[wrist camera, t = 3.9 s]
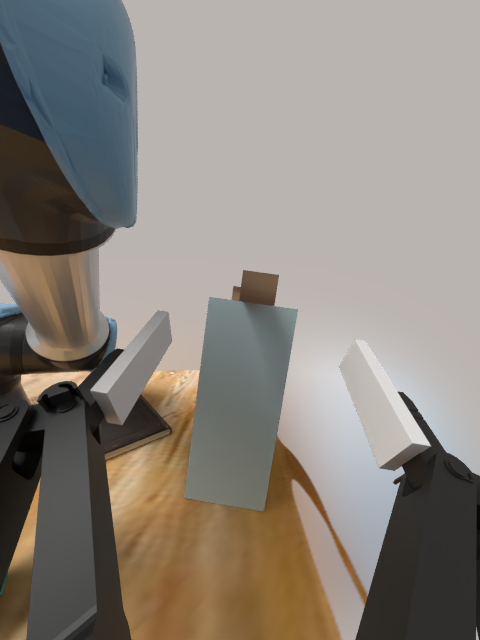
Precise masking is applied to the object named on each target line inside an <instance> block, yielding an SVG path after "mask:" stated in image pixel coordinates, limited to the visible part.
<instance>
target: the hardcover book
mask: <svg viewBox="0 0 480 640" xmlns="http://www.w3.org/2000/svg"><path fill="white" fill-rule="evenodd" d="M100 425H101V428H102V437H103V445H104V453H105V460H108V459H110V458H113V457H115V456H117V455H120V454H122V453H125V452H127V451H129V450H132V449H134V448H137V447H139V446H142V445H144V444H146V443H149V442H151V441H154V440H156V439H159V438H161V437H163V436H166V435H168V434H171V427H170V426H169V425H168V424H167V423H166V422H165V421H164V420H163V418H162V417H161V416H160V415H159V414H158V413H157V412H156V411H155V410H154V409H153V407H152V406H151V405H150V404H149V403H148V402H147V401H146V400H145V399H144V398H143V396H142V395H141V394H140V396H139V398H138V399H137V401H136V403H135V404H134V406H133V408H132V409H131V411H130V413H129V415H128V416H127V418H126V420H125V421H124V423H123V425H119V424H113V423H108V422H107V420H106V418H105V417H104V419H103V420H102V421H101V423H100Z"/></svg>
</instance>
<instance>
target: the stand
mask: <svg viewBox="0 0 480 640" xmlns="http://www.w3.org/2000/svg"><path fill="white" fill-rule="evenodd" d="M207 312H208V313H207V319H206V328H205V335H204V343H203V351H202V359H201V367H200V374H199V382H198V390H197V398H196V406H195V414H194V422H193V429H192V437H191V445H190V453H189V461H188V469H187V477H186V485H185V492H184V498H186V499H192V500H198V501H204V502H210V503H215V504H221V505H227V506H233V507H239V508H244V509H250V510H256V511H262V512H264V508H265V502H266V497H267V491H268V485H269V479H270V473H271V467H272V461H273V455H274V449H275V443H276V437H277V431H278V425H279V419H280V413H281V407H282V401H283V395H284V389H285V383H286V377H287V371H288V366H289V359H290V354H291V348H292V342H293V336H294V330H295V324H296V318H297V312H298V310H297V309H290V308H283V307H276V306H269V305H262V304H255V303H248V302H241V301H234V300H227V299H220V298H213V297H210V298H209V304H208V311H207Z"/></svg>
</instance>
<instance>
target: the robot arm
mask: <svg viewBox="0 0 480 640" xmlns="http://www.w3.org/2000/svg"><path fill="white" fill-rule="evenodd" d="M136 70H137V69H136V51H135V42H134V35H133V30H132V26H131V23H130V20H129V17H128V14H127V11H126V9H125V7H124V5H123V3H122V0H0V280H1V282H2V283H3V284H4V286H5V287H6V289H7V290H8V292H9V293H10V295H11V297H12V298H13V299H14V301H15V302H16V304H0V592H1V589H2V586H3V583H4V580H5V578H6V575H7V572H8V569H9V566H10V563H11V560H12V558H13V555H14V552H15V549H16V546H17V543H18V540H19V537H20V535H21V532H22V529H23V526H24V523H25V520H26V517H27V515H28V512H29V509H30V506H31V503H32V500H33V497H34V494H35V492H36V489H37V486H38V483H39V480H40V477H41V480H40V492H39V503H38V514H37V526H36V537H35V548H34V560H33V571H32V582H31V594H30V605H29V617H28V628H27V639H26V640H131V636H130V630H129V625H128V621H127V619H126V616H125V613H124V609H123V603H122V595H121V587H120V578H119V570H118V562H117V553H116V545H115V537H114V528H113V520H112V512H111V503H110V495H109V487H108V478H107V470H106V462H105V453H104V445H103V437H102V428H101V425H100V423H101V421H102V420H103V419H104V417H105V418H106V420H107V422H108V423H113V424H119V425H123V423H124V421H125V420H126V418H127V416H128V415H129V413H130V411H131V409H132V408H133V406H134V404H135V403H136V401H137V399H138V398H139V396H140V394H141V393H142V391H143V389H144V388H145V386H146V384H147V383H148V381H149V379H150V378H151V376H152V374H153V372H154V371H155V369H156V367H157V366H158V364H159V362H160V361H161V359H162V357H163V355H164V354H165V352H166V351H167V349H168V347H169V346H170V344H171V342H172V336H171V329H170V321H169V313H168V312H165V311H157V312H156V313H155V314H154V316H153V317H152V318H151V319H150V320H149V321H148V323H147V324H146V325H145V326H144V327H143V329H142V330H141V331H140V332H139V334H137V336H136V337H135V338H134V339H133V340H132V342H131V343H130V344H129V345H128V346H127V348H126V349H125V350H123V349H116V350H115V347H116V339H117V324H116V321H115V320H114V319H112V318H108V317H105V316H104V315H103V314H102V313H101V312H100V306H99V305H100V303H99V254H98V253H99V251H98V248H99V247H101V246H103V245H104V244H105V243H106V242H108V241H109V240H110V238H111V237H112V236H113V234H114V232H115V230H116V229H117V228H120V227H125V228H130V227H132V226H134V224H135V223H136V214H137V152H138V137H137V136H138V130H137V129H138V127H137V125H138V123H137V71H136ZM339 368H340V370H341V373H342V375H343V378H344V380H345V383H346V385H347V388H348V391H349V393H350V396H351V398H352V401H353V403H354V406H355V408H356V411H357V414H358V416H359V418H360V421H361V424H362V426H363V429H364V431H365V434H366V436H367V439H368V442H369V444H370V447H371V449H372V452H373V454H374V457H375V459H376V462H377V465H378V467H379V468H381V469H387V470H393V471H395V470H396V469H398V468H399V467H401V466H402V467H403V469H404V471H405V474H403V475H402V476H400V477H399V478H397V479H395V480H394V482H393V483H394V484H397V483H399V482H400V485H399V489H398V492H397V496H396V499H395V503H394V506H393V510H392V513H391V517H390V520H389V524H388V527H387V531H386V534H385V538H384V541H383V545H382V548H381V552H380V556H379V559H378V563H377V566H376V569H375V573H374V576H373V580H372V584H371V587H370V590H369V594H368V597H367V601H366V605H365V608H364V612H363V615H362V619H361V622H360V626H359V629H358V633H357V636H356V640H476V627H477V632H478V637H479V640H480V476H479V475H476V474H474V473H472V472H471V471H470V469H469V468H468V467H467V466H466V465H465V464H464V463H463V462H461V461H460V460H459V459H458V458H456V457H454V456H453V455H451V454H449V453H446V451H445V450H444V449H443V447H442V446H441V444H440V443H439V441H438V439H437V438H436V436H435V435H434V433H433V432H432V430H431V429H430V428H429V426H428V425H427V423H426V421H425V420H423V417H422V415H421V414H420V413H419V412H418V409H417V408H416V406H415V405H414V403H413V402H412V401H411V400H410V399H409V398H408V397H407V396H406V395H405V394H404V393H403V392H397V391H396V389H395V387H394V386H393V384H392V382H391V381H390V379H389V378H388V376H387V375H386V373H385V371H384V370H383V368H382V366H381V365H380V363H379V362H378V360H377V358H376V357H375V355H374V353H373V352H372V350H371V349H370V347H369V345H368V344H367V342H366V341H362V340H354V342H353V343H352V345H351V347H350V348H349V350H348V352H347V354H346V355H345V357H344V359H343V361H342V362H341V364H340V366H339ZM78 371H90V372H91V373H90V375H89V376H88V377H87V378H86V379H85V380H84V381H83V382H82V383H81V384H80V385H79V386H78V387H77V385H76V384H75V383H74V382H72V381H64V382H59V383H57V384H54V385H52V386H50V387H49V388H47V389H46V390H44V391H43V392H42V394H41V395H40V396H39V398H38V400H37V402H38V403H39V404H37V405H31V403H30V401H29V399H28V397H27V395H26V393H25V391H24V389H23V387H22V385H21V375H22V374H39V373H59V372H78Z"/></svg>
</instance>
